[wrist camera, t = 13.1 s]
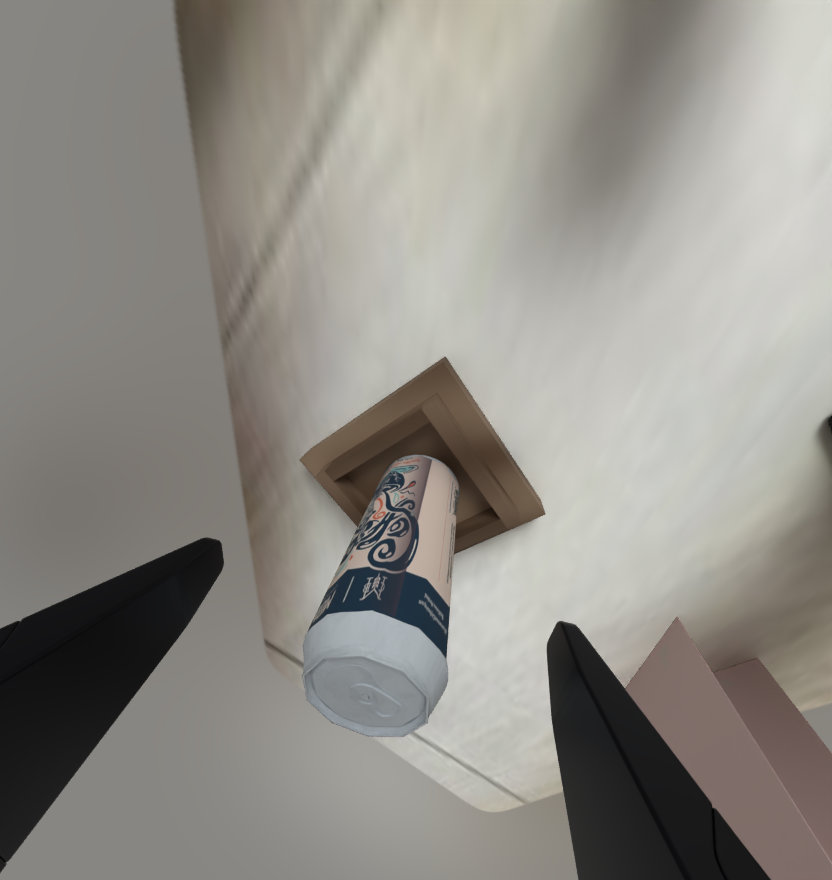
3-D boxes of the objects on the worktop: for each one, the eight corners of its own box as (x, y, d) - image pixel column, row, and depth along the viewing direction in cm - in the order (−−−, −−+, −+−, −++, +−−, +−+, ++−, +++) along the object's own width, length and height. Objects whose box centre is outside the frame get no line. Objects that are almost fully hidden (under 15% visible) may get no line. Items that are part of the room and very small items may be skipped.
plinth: (540, 500, 22) (550, 530, 19) (405, 561, 25) (397, 594, 23) (445, 356, 19) (441, 367, 16) (309, 449, 23) (287, 471, 20)
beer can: (413, 435, 19) (339, 617, 9) (476, 483, 20) (481, 709, 9) (368, 487, 21) (262, 690, 11) (427, 530, 22) (384, 762, 11)
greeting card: (618, 712, 29) (748, 1089, 15) (563, 664, 27) (652, 1030, 14) (764, 664, 24) (1131, 1137, 11) (707, 604, 23) (1045, 1057, 9)
